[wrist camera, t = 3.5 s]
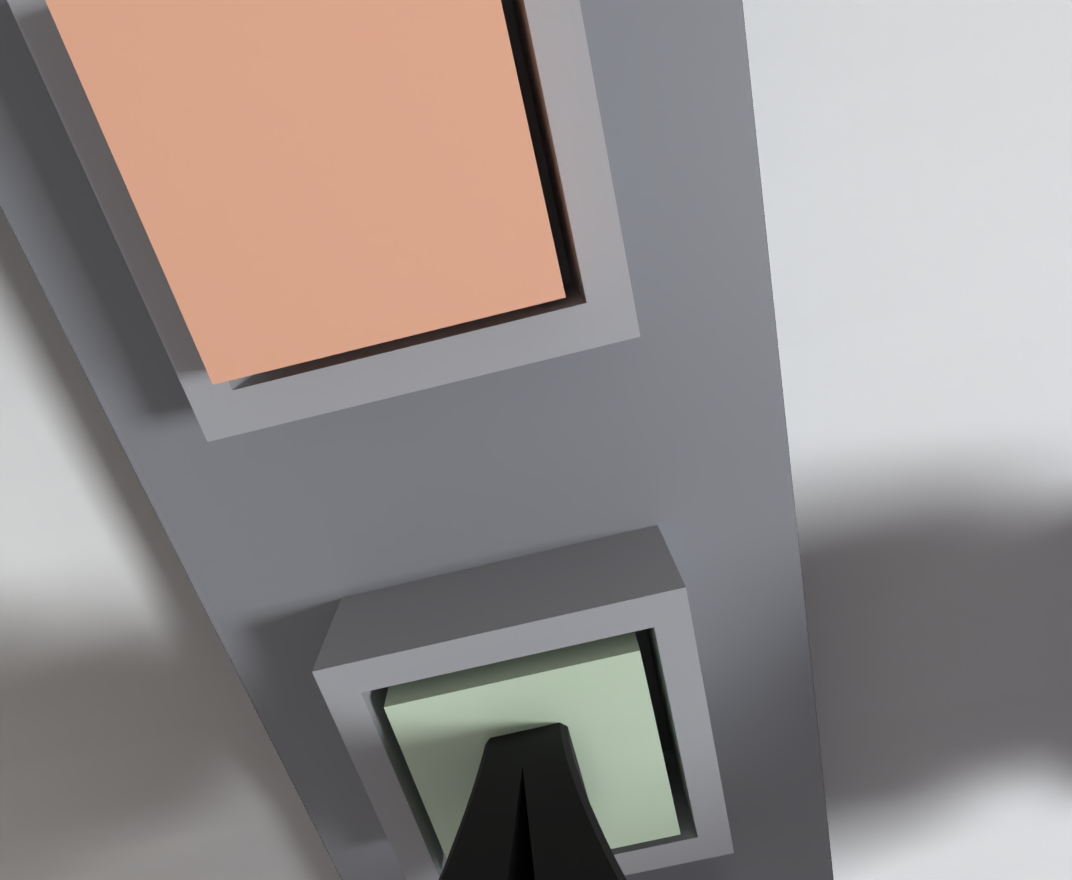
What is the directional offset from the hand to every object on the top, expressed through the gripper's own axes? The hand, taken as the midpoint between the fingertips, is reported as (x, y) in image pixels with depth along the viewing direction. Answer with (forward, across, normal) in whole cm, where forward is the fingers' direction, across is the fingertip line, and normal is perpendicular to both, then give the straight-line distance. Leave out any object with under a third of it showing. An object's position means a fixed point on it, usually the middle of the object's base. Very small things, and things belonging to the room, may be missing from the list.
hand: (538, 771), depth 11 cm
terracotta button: (+1, 0, -10) cm, 10 cm away
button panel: (+4, 0, 0) cm, 4 cm away
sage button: (+2, 0, 0) cm, 2 cm away
